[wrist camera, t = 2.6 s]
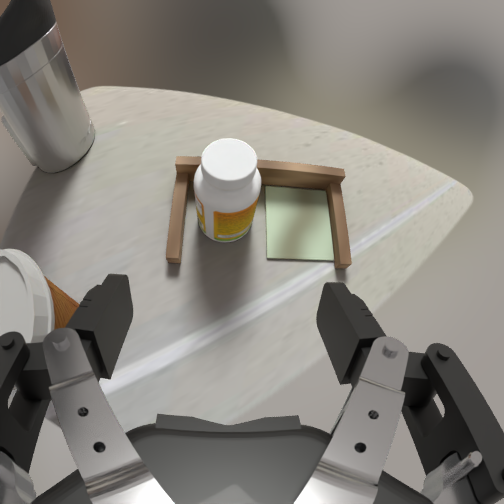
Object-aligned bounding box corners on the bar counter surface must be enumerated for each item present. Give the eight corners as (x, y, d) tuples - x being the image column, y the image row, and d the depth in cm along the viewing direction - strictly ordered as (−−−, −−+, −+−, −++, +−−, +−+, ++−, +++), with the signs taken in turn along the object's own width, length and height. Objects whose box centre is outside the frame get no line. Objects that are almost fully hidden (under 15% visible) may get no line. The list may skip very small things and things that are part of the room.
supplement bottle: (261, 212, 29) (281, 152, 20) (233, 254, 27) (241, 204, 18) (218, 186, 30) (220, 121, 21) (187, 225, 28) (175, 166, 19)
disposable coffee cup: (127, 314, 24) (64, 283, 13) (90, 400, 21) (14, 421, 10) (56, 270, 24) (-14, 221, 13) (23, 348, 21) (-57, 334, 10)
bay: (168, 262, 26) (162, 251, 23) (179, 173, 30) (176, 156, 27) (345, 268, 28) (358, 259, 25) (334, 183, 32) (343, 169, 29)
